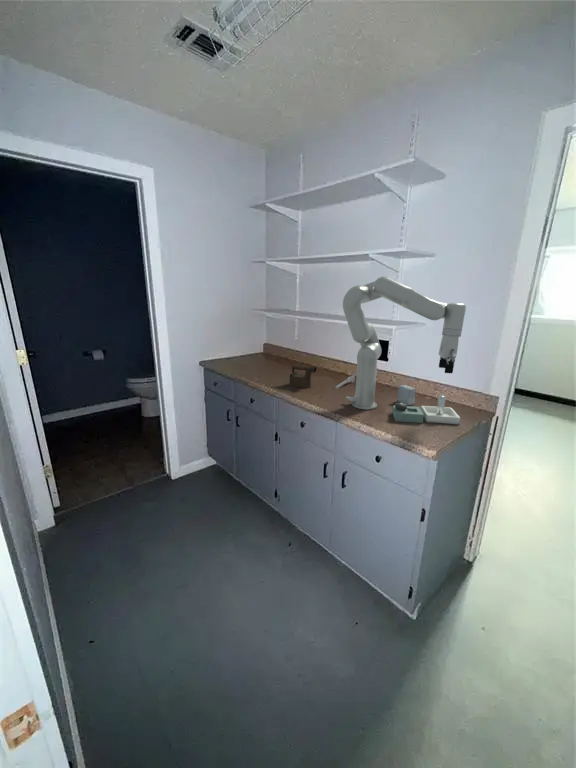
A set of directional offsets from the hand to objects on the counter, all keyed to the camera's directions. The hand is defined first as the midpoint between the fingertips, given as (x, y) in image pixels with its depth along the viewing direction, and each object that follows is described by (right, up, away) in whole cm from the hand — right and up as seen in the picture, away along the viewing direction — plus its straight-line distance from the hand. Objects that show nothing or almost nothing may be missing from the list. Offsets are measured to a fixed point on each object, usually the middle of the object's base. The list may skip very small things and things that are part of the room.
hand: (445, 370), depth 149 cm
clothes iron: (-63, -8, +53) cm, 83 cm away
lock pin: (0, -21, +6) cm, 22 cm away
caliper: (-36, -7, +56) cm, 67 cm away
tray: (0, -22, +6) cm, 23 cm away
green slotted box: (-15, -22, +6) cm, 27 cm away
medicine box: (-9, -16, +26) cm, 32 cm away
